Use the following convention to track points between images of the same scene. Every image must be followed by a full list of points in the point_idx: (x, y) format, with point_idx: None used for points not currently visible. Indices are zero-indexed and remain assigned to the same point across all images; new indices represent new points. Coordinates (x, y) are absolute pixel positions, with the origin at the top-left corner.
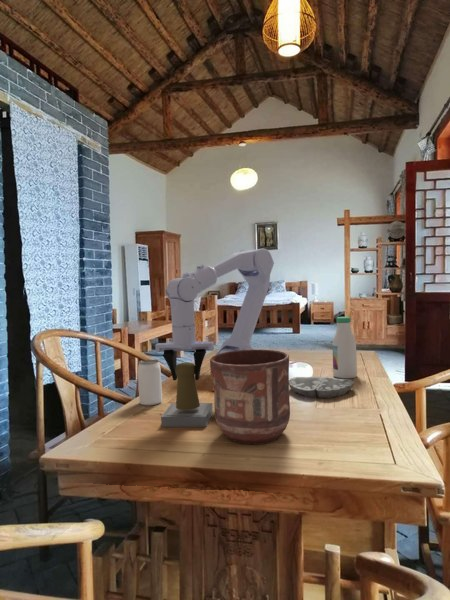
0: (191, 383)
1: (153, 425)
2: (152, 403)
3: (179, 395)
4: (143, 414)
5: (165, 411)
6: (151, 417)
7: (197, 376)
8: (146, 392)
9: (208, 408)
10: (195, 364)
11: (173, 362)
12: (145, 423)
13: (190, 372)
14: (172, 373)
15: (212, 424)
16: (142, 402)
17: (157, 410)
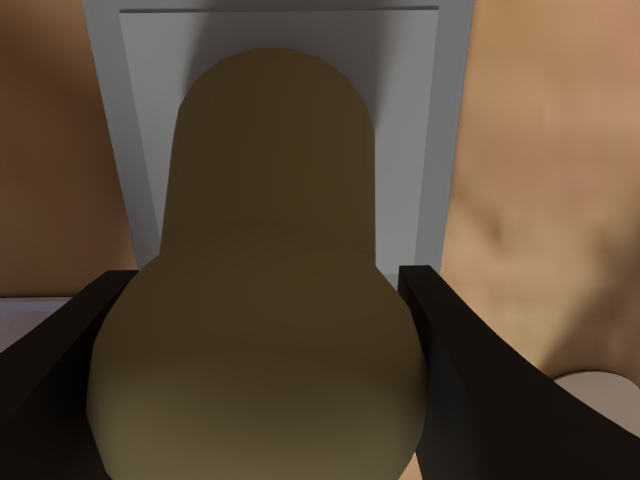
0: (179, 206)
1: (524, 2)
2: (567, 379)
3: (332, 123)
4: (611, 229)
5: (457, 116)
6: (553, 173)
7: (85, 287)
8: (636, 431)
9: (130, 185)
10: (6, 403)
11: (476, 451)
12: (588, 49)
13: (141, 276)
14: (455, 308)
15: (77, 25)
16: (631, 385)
17: (524, 297)
